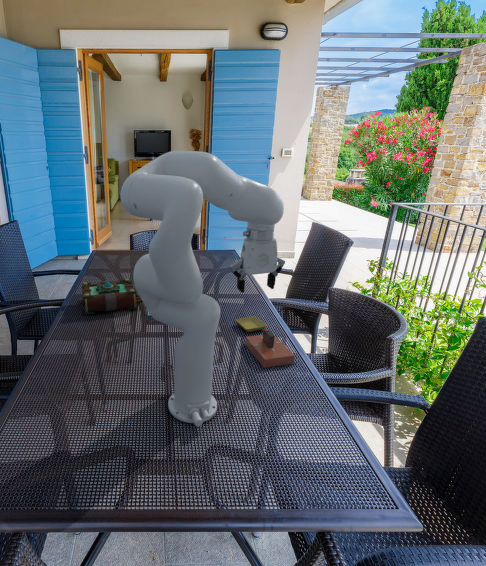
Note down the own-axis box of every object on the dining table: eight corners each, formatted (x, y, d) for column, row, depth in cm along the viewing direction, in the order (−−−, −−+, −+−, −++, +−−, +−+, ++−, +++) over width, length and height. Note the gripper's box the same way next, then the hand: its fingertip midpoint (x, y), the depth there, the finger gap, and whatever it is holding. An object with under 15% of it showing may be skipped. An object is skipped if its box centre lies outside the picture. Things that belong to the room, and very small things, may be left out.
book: (141, 290, 171) (141, 269, 167) (152, 309, 152) (151, 286, 148) (82, 296, 164) (80, 274, 161) (84, 317, 145) (82, 293, 142)
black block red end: (273, 347, 119) (274, 335, 117) (268, 347, 119) (270, 336, 117) (266, 340, 123) (268, 328, 122) (262, 340, 123) (263, 329, 121)
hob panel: (293, 363, 116) (295, 354, 115) (263, 367, 114) (264, 359, 113) (272, 341, 128) (273, 333, 127) (244, 344, 126) (245, 336, 125)
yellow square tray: (234, 323, 140) (234, 318, 140) (254, 320, 143) (255, 315, 142) (246, 334, 133) (246, 329, 132) (267, 330, 135) (267, 325, 135)
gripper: (237, 240, 102) (234, 297, 109) (294, 235, 106) (287, 290, 112) (226, 233, 109) (224, 287, 115) (280, 228, 113) (275, 281, 119)
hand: (255, 289), depth 114 cm, fingers open, 9 cm apart
